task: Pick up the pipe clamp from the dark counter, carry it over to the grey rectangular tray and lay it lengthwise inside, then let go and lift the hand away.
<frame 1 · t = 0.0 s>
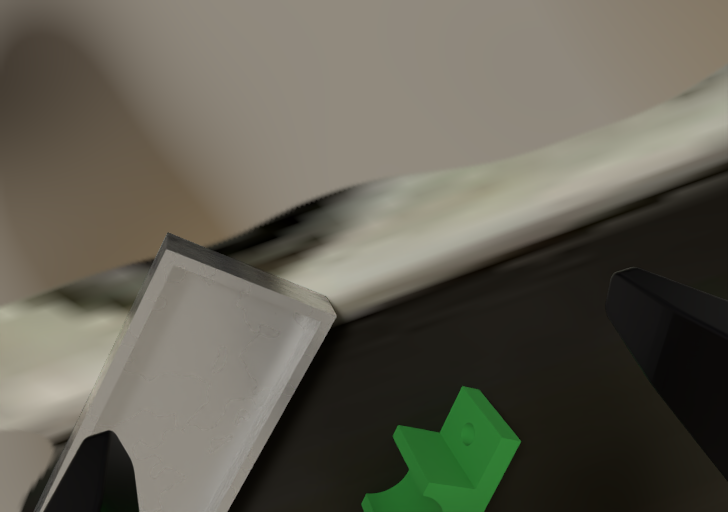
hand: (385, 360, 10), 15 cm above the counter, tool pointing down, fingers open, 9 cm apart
pipe clamp: (409, 464, 32), on the counter
grey rectangular tray: (180, 403, 27), on the counter
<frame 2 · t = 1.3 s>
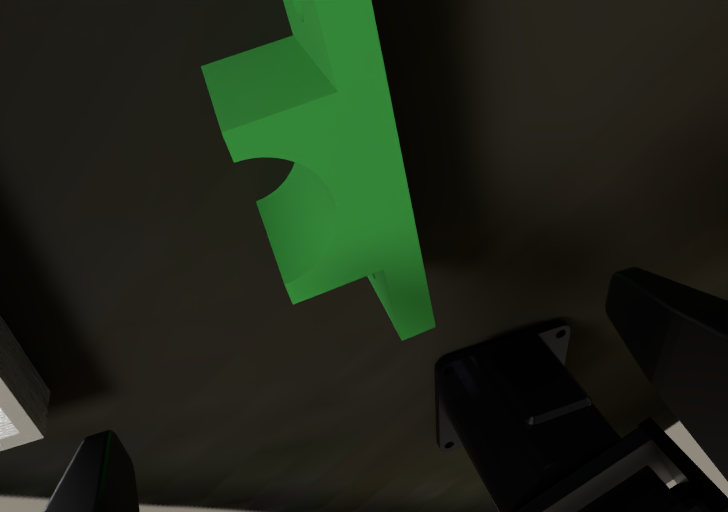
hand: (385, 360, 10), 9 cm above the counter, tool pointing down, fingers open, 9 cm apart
pipe clamp: (295, 120, 18), on the counter
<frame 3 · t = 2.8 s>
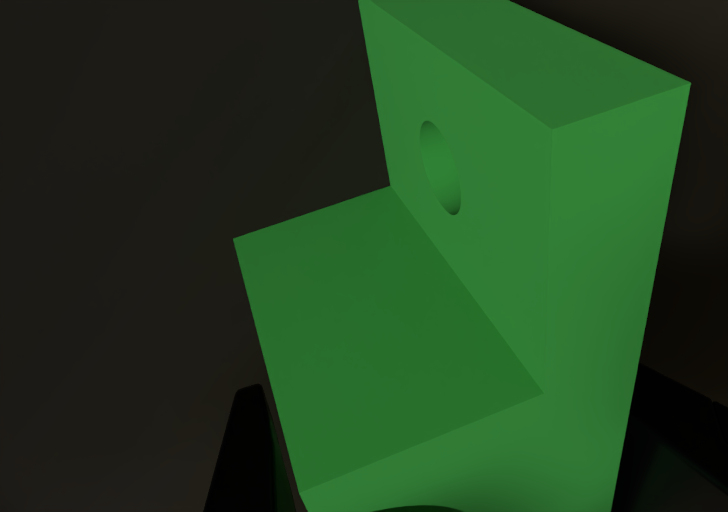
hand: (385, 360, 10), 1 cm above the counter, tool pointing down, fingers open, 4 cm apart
pipe clamp: (375, 302, 11), on the counter, touching gripper
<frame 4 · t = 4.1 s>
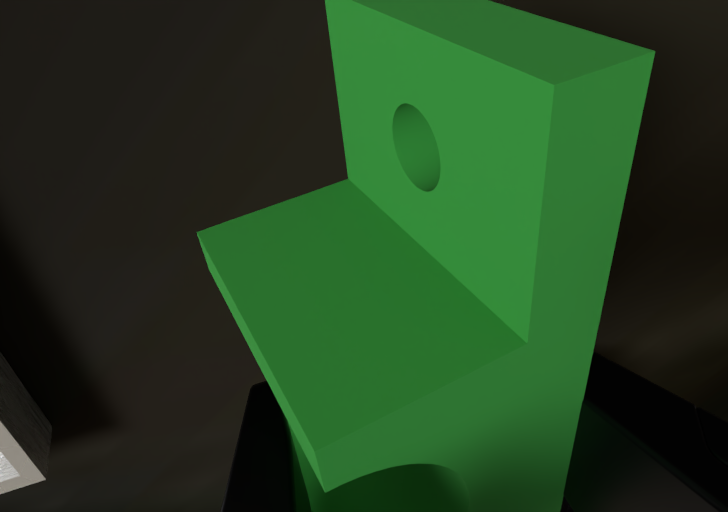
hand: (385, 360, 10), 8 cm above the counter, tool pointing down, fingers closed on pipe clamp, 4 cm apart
pipe clamp: (329, 297, 11), point 6 cm above the counter, touching gripper
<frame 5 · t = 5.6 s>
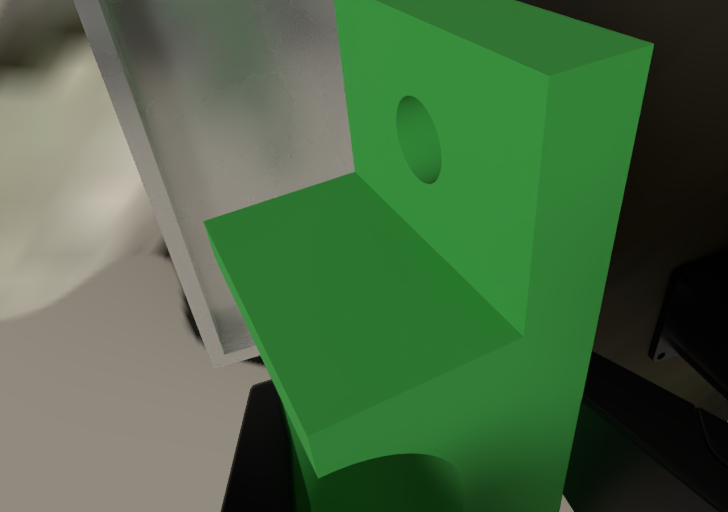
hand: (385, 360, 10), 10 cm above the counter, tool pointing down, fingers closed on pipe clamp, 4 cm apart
pipe clamp: (335, 290, 11), point 8 cm above the counter, touching gripper
grey rectangular tray: (267, 126, 18), on the counter
when the fingers open (3 cm above the counter, at t = 7.4 s): pipe clamp stays where it is, resting on grey rectangular tray.
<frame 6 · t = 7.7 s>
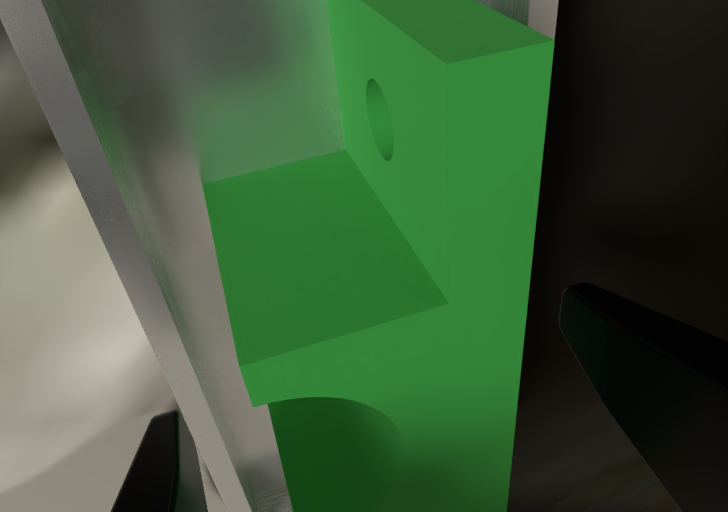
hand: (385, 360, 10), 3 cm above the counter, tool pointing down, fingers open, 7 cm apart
pipe clamp: (328, 259, 12), point 1 cm above the counter, touching grey rectangular tray
grey rectangular tray: (330, 248, 13), on the counter
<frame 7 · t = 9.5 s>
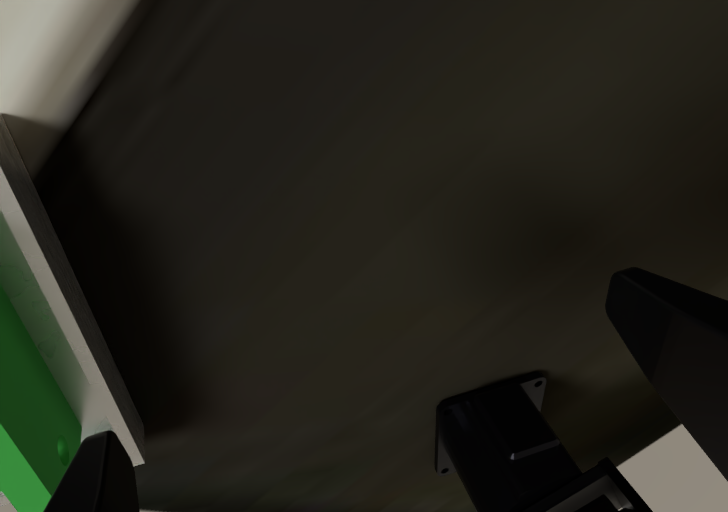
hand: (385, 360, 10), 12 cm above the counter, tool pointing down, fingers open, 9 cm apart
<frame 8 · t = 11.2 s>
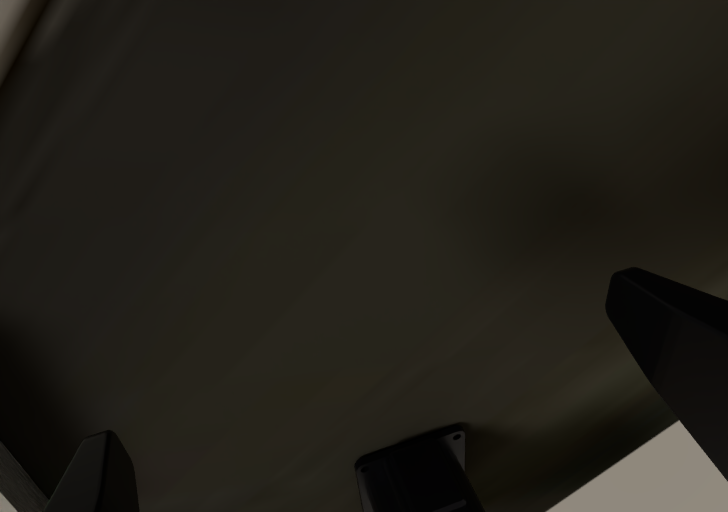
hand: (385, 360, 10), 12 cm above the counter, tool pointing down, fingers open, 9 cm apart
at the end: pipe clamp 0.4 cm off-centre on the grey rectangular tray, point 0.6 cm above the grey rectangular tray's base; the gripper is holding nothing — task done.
